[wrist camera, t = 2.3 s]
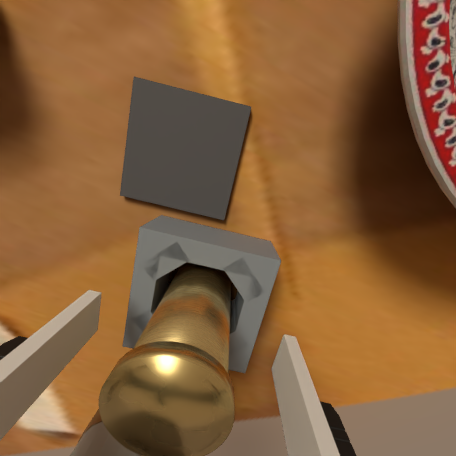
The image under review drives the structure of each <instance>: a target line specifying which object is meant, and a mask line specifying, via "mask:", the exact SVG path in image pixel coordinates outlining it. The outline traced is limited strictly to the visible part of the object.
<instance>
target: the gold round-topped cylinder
mask: <svg viewBox="0 0 456 456" xmlns="http://www.w3.org/2000/svg"><path fill="white" fill-rule="evenodd" d="M230 302H231V279H230V278H229V276H228V275H227V273H226V272H225V271H224V270H220V269H215V268H211V267H207V266H202V265H198V264H194V263H190V262H186V263H184V264H183V265H181V267H180V269H179V271H178V272H177V274H176V276H175V277H174V279H173V281H172V283H171V284H170V286H169V288H168V290H167V291H166V293H165V295H164V296H163V298H162V300H161V302H160V303H159V305H158V307H157V308H156V310H155V312H154V314H153V315H152V317H151V319H150V320H149V322H148V324H147V326H146V327H145V329H144V331H143V333H142V334H141V336H140V338H139V339H138V341H137V343H136V345H135V346H134V348H133V349H132V350H131V351H129V352H128V353H126V354H125V355H124V356H123V357H122V358H121V359H120V360H119V361H118V362H117V364H116V365H115V367H114V369H113V370H112V372H111V373H110V375H109V377H108V378H107V380H106V381H105V383H104V385H103V387H102V389H101V392H100V396H99V412H100V416H101V419H102V421H103V423H104V425H105V427H106V429H107V430H108V432H109V433H110V434H111V435H112V436H113V438H115V439H116V440H117V441H118V442H119V443H120V444H121V445H123V446H124V447H125V448H127V449H129V450H130V451H132V452H134V453H136V454H138V455H141V456H205V455H207V454H209V453H211V452H212V451H214V450H216V449H217V448H218V447H219V446H220V445H222V443H223V442H224V441H225V440H226V439H227V437H228V435H229V434H230V432H231V429H232V427H233V423H234V387H233V384H232V381H231V378H230V376H229V374H228V366H229V334H230Z"/></svg>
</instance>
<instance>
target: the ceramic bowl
mask: <svg viewBox="0 0 456 456" xmlns="http://www.w3.org/2000/svg"><path fill="white" fill-rule="evenodd" d="M398 51H399V61H400V72H401V81H402V86H403V91H404V96H405V101H406V107H407V111H408V115H409V118H410V121H411V125H412V128H413V131H414V134H415V138H416V141H417V143H418V145H419V148H420V150H421V152H422V155H423V157H424V159H425V162H426V164H427V166H428V168H429V170H430V171H431V173H432V175H433V176H434V178H435V180H436V182H437V183H438V185H439V187H440V188H441V190H442V191H443V193H444V194H445V195H446V197H447V198H448V199H449V200H450V202H451V203H452V204H453V206H454V207H455V208H456V0H398Z"/></svg>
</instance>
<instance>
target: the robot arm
mask: <svg viewBox="0 0 456 456" xmlns="http://www.w3.org/2000/svg"><path fill="white" fill-rule="evenodd" d="M100 302H101V292H96V291H92V290H88V291H87V292H86V293H85V294H83V295H82V296H81V297H80V298H78V299H77V300H76V301H74V302H73V303H72V304H71V305H69V306H68V307H67V308H66V309H64V310H63V311H62V312H61V313H59V314H58V315H57V316H56V317H54V318H53V319H52V320H51V321H49V322H48V323H47V324H46V325H44V326H43V327H42V328H41V329H39V330H38V331H37V332H35V333H34V334H33V335H32V336H30V337H29V338H25V337H21V336H18V337H16V338H14V339H12V340H10V341H8V342H6V343H3V344H2V345H1V346H0V440H1V439H2V438H3V437H4V436H5V434H6V433H7V432H8V431H9V430H10V429H11V428H12V426H13V425H14V424H15V423H16V422H17V421H18V420H19V419H20V417H21V416H22V415H23V414H24V413H25V412H26V411H27V409H28V408H29V407H30V406H31V405H32V404H33V403H34V402H35V400H36V399H37V398H38V397H39V396H40V395H41V394H42V392H43V391H44V390H45V389H46V388H47V387H48V386H49V384H50V383H51V382H52V381H53V380H54V379H55V378H56V377H57V375H58V374H59V373H60V372H61V371H62V370H63V369H64V367H65V366H66V365H67V364H68V363H69V362H70V361H71V360H72V358H73V357H74V356H75V355H76V354H77V353H78V352H79V350H80V349H81V348H82V347H83V346H84V345H85V344H86V342H87V341H88V340H89V339H90V338H91V337H92V336H93V335H94V333H95V332H96V331H97V330H98V321H99V311H100ZM272 374H273V379H274V385H275V390H276V395H277V400H278V406H279V411H280V416H281V422H282V427H283V432H284V437H285V442H286V448H287V452H288V456H356V454H355V451H354V449H353V447H352V445H351V443H350V440H349V438H348V435H347V433H346V432H345V428H344V426H343V424H342V421H341V419H340V417H339V415H338V414H337V412H336V411H335V410H334V408H333V407H332V405H331V404H329V403H324V402H320V401H319V398H318V395H317V393H316V390H315V387H314V385H313V382H312V379H311V377H310V374H309V371H308V369H307V366H306V363H305V361H304V358H303V355H302V353H301V350H300V347H299V345H298V342H297V339H296V337H294V336H290V335H285V334H284V335H283V338H282V341H281V344H280V346H279V349H278V352H277V355H276V358H275V360H274V363H273V366H272Z"/></svg>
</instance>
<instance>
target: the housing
mask: <svg viewBox="0 0 456 456" xmlns="http://www.w3.org/2000/svg"><path fill="white" fill-rule="evenodd" d="M186 262H190V263H194V264H198V265H202V266H207V267H211V268H215V269H220V270H224V271H225V272H226V273H227V275H228V276H229V278H230V279H231V281H232V282H233V284H234V285H235V287H236V288H237V294H236V298H235V299H234V300H232V301H231V302H230V334H229V366H228V370H233V371H237V372H242V373H245V372H246V369H247V366H248V362H249V359H250V356H251V353H252V350H253V347H254V344H255V341H256V338H257V334H258V331H259V328H260V325H261V322H262V319H263V316H264V313H265V310H266V306H267V303H268V300H269V297H270V294H271V291H272V288H273V285H274V281H275V278H276V275H277V272H278V269H279V266H280V263H281V259H280V258H279V256H278V254H277V252H276V250H275V248H274V246H273V245H272V243H271V241H267V240H263V239H259V238H255V237H250V236H246V235H242V234H238V233H234V232H230V231H225V230H221V229H217V228H213V227H209V226H204V225H200V224H196V223H192V222H188V221H184V220H179V219H175V218H171V217H167V216H163V215H161V216H159V217H157V218H155V219H154V220H152V221H150V222H148V223H146V224H145V225H143V226H141V227H140V229H139V236H138V243H137V250H136V257H135V264H134V271H133V278H132V285H131V292H130V299H129V306H128V313H127V320H126V327H125V334H124V341H123V346H124V347H128V348H134V346H135V345H136V343H137V341H138V339H139V338H140V336H141V334H142V333H143V331H144V329H145V327H146V326H147V324H148V322H149V320H150V319H151V317H152V315H153V314H154V312H155V310H156V308H157V307H158V305H159V303H160V302H161V300H162V298H163V296H164V295H165V293H166V291H167V290H168V288H169V286H170V285H169V284H168V281H169V276H170V272H171V271H172V270H174V269H176V268H177V267H179V266H181V265H183V264H184V263H186Z"/></svg>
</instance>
